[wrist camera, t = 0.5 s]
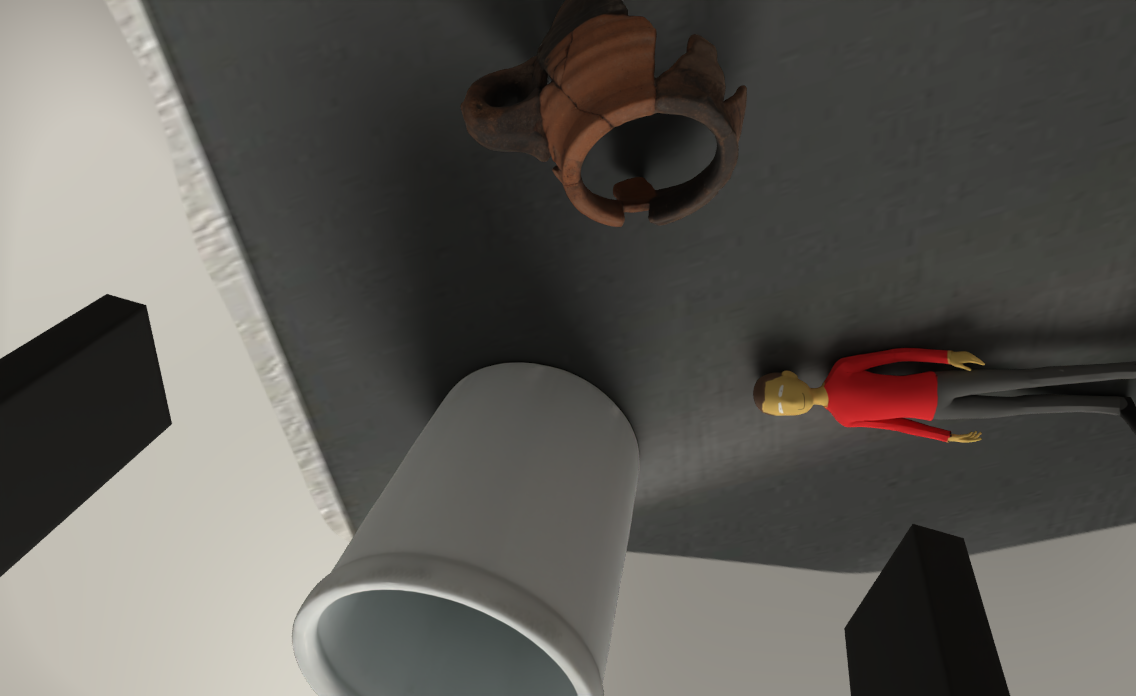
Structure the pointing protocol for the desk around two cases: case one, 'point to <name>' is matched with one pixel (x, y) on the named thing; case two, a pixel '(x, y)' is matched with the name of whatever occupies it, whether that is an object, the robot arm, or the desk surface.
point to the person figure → (937, 392)
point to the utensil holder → (485, 550)
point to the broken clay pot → (606, 106)
